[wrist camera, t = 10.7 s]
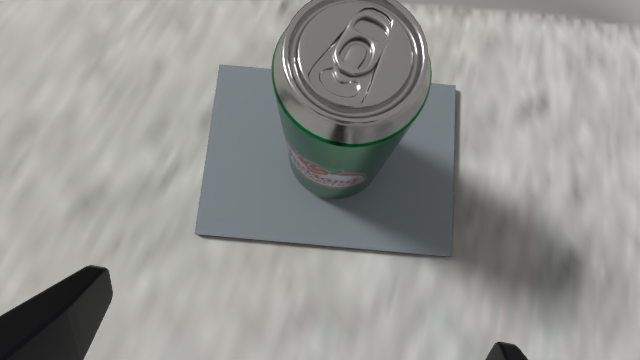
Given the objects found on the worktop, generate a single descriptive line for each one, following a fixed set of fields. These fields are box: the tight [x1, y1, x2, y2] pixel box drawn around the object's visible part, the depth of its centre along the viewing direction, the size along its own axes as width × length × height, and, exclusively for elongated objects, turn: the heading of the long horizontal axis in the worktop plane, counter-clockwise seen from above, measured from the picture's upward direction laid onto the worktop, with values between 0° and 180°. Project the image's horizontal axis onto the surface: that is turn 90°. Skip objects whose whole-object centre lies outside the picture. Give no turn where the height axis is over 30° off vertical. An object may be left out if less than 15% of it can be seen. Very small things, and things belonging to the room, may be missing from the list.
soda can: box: [272, 0, 432, 199], centre depth 18 cm, size 5×5×12 cm
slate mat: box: [195, 65, 456, 257], centre depth 24 cm, size 14×10×1 cm
